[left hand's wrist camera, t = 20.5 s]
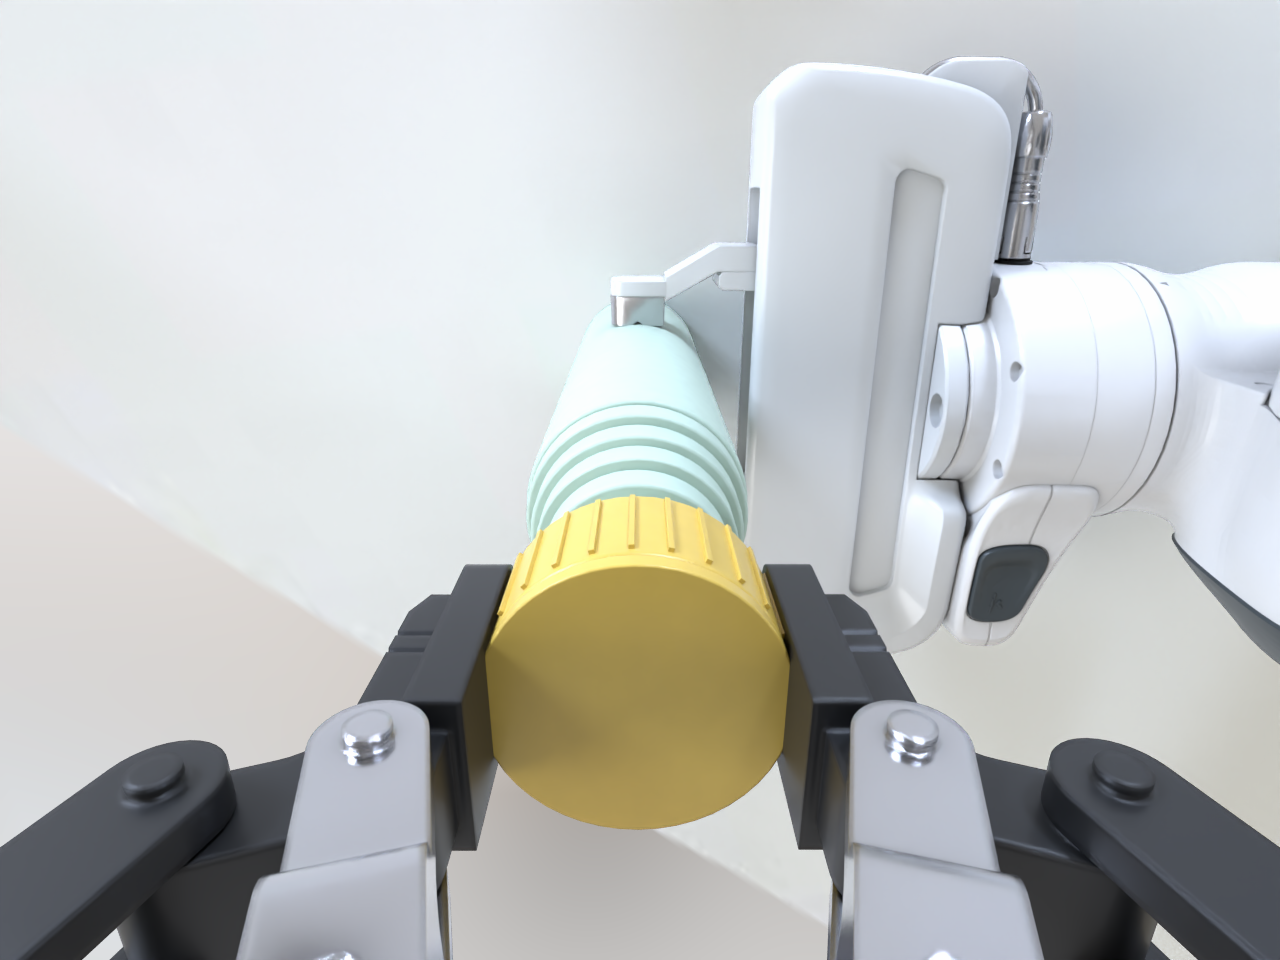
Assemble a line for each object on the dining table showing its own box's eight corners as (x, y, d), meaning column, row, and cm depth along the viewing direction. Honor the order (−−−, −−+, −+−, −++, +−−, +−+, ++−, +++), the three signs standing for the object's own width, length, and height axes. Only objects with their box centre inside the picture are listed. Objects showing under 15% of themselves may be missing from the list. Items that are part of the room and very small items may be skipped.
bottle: (590, 414, 33) (498, 828, 11) (573, 304, 31) (429, 545, 10) (698, 401, 33) (816, 799, 11) (688, 290, 31) (803, 503, 9)
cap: (738, 458, 11) (762, 523, 9) (795, 693, 13) (828, 798, 10) (464, 530, 12) (423, 607, 9) (551, 749, 13) (533, 859, 11)
